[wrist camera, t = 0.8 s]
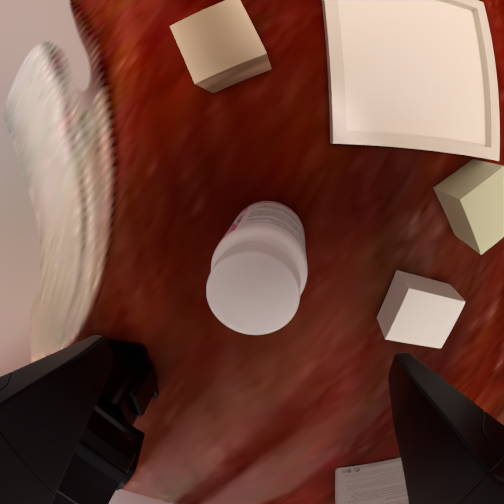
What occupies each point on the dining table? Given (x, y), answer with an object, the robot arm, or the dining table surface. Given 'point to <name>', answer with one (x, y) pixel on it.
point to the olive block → (475, 203)
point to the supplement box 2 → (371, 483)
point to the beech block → (220, 46)
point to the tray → (412, 75)
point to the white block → (419, 310)
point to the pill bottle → (259, 270)
